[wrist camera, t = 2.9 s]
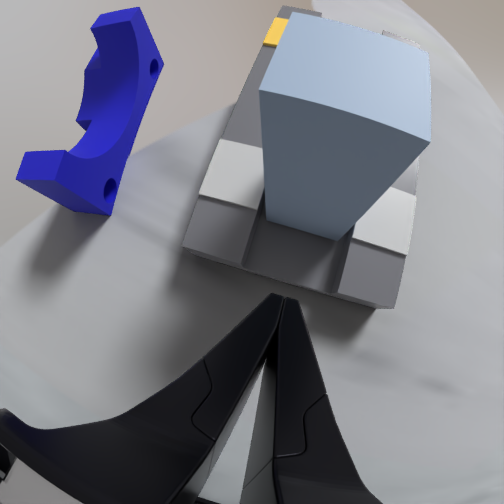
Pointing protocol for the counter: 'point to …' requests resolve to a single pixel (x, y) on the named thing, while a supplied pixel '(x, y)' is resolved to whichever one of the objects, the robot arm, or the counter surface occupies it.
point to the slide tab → (339, 122)
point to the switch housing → (287, 238)
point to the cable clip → (102, 118)
